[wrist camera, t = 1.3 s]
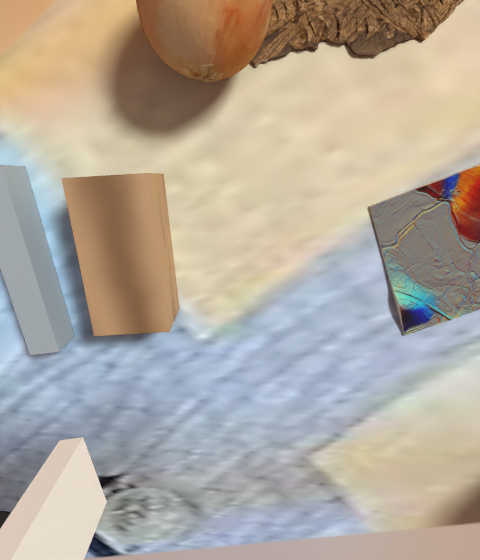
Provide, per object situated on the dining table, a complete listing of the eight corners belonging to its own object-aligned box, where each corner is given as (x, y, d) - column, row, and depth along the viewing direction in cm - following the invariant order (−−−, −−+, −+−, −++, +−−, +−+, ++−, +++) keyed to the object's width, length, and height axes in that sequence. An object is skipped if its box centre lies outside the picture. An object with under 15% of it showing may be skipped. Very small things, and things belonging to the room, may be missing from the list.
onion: (168, 105, 30) (137, 71, 21) (140, -26, 28) (90, -135, 18) (272, 85, 30) (290, 42, 21) (255, -49, 27) (266, -173, 18)
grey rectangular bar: (48, 339, 37) (30, 355, 34) (-6, 170, 32) (-34, 169, 28) (74, 336, 37) (59, 351, 34) (25, 166, 32) (0, 165, 28)
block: (116, 311, 36) (94, 336, 31) (92, 178, 32) (61, 178, 27) (179, 307, 36) (169, 331, 31) (164, 174, 32) (148, 173, 27)
